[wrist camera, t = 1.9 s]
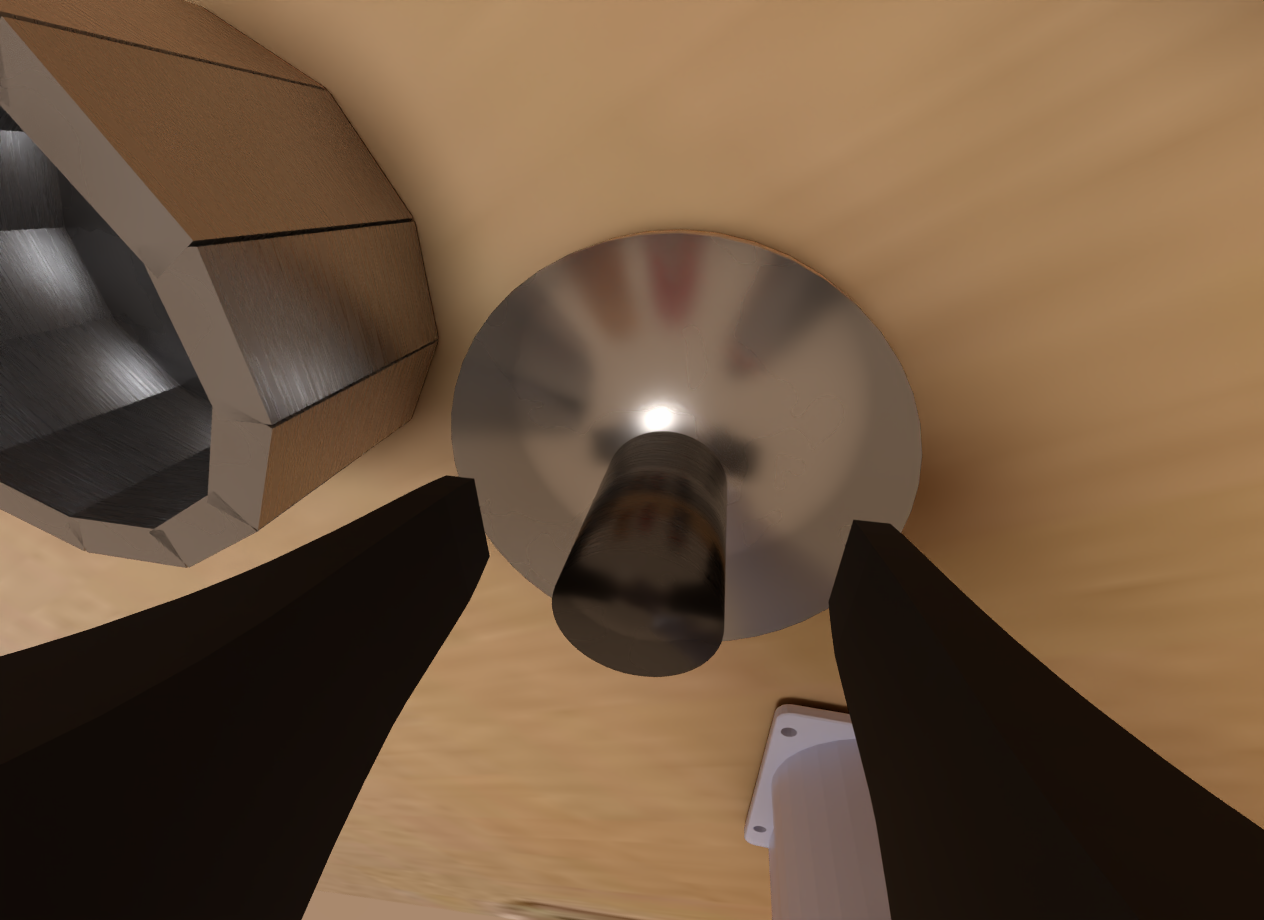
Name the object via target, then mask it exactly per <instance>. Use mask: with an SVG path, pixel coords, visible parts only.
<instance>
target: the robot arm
mask: <svg viewBox="0 0 1264 920" xmlns="http://www.w3.org/2000/svg"><path fill="white" fill-rule="evenodd" d="M489 557H490V556H489V551H488V546H487V541H486V535H485V530H484V525H483V520H482V515H481V510H480V505H479V500H478V495H477V490H476V485H475V480H474V478H465V477H455V476H444V477H442V478H439V479H437V480H434V481H432V482H430V483H428V484H426V485H424V486H422V487H420V488H418V489H415V490H413V491H411V492H409V493H408V494H406V495H404V496H402V497H400V498H398V499H396V500H394V501H392V502H390V503H388V504H386V505H384V506H382V507H380V508H378V509H376V510H374V511H372V512H370V513H368V514H367V515H365V516H363V517H361V518H359V519H357V520H355V521H353V522H351V523H349V524H347V525H345V526H343V527H341V528H339V529H337V530H335V531H333V532H331V533H329V534H327V535H324V536H322V537H320V538H318V539H316V540H314V541H312V542H310V543H308V544H305V545H303V546H301V547H299V548H297V549H295V550H293V551H291V552H289V553H287V554H284V555H282V556H280V557H278V558H276V559H274V560H272V561H269V562H267V563H265V564H262V565H260V566H258V567H256V568H253V569H251V570H248V571H246V572H244V573H241V574H239V575H237V576H234V577H232V578H229V579H227V580H224V581H222V582H219V583H217V584H214V585H212V586H209V587H207V588H204V589H202V590H199V591H197V592H194V593H191V594H189V595H186V596H183V597H181V598H178V599H175V600H172V601H170V602H167V603H164V604H161V605H158V606H155V607H152V608H149V609H147V610H144V611H141V612H138V613H135V614H132V615H129V616H126V617H124V618H121V619H118V620H115V621H112V622H109V623H106V624H103V625H101V626H98V627H95V628H92V629H89V630H86V631H83V632H79V633H76V634H73V635H70V636H67V637H63V638H60V639H57V640H54V641H50V642H47V643H44V644H41V645H38V646H34V647H31V648H28V649H24V650H21V651H17V652H14V653H10V654H7V655H4V656H0V920H301V919H302V917H303V915H304V913H305V910H306V908H307V906H308V903H309V901H310V899H311V897H312V894H313V892H314V890H315V888H316V885H317V883H318V881H319V879H320V876H321V874H322V872H323V869H324V867H325V865H326V863H327V860H328V858H329V856H330V854H331V851H332V849H333V847H334V845H335V842H336V840H337V838H338V836H339V834H340V832H341V830H342V828H343V826H344V824H345V821H346V819H347V817H348V815H349V813H350V811H351V809H352V807H353V805H354V802H355V800H356V798H357V796H358V794H359V792H360V790H361V788H362V786H363V783H364V781H365V779H366V777H367V775H368V774H369V772H370V770H371V768H372V766H373V764H374V762H375V760H376V758H377V756H378V754H379V752H380V750H381V748H382V746H383V744H384V742H385V740H386V738H387V736H388V734H389V732H390V730H391V728H392V726H393V724H394V723H395V721H396V719H397V718H398V716H399V714H400V712H401V711H402V709H403V707H404V705H405V704H406V702H407V700H408V699H409V697H410V696H411V694H412V692H413V691H414V689H415V688H416V686H417V684H418V683H419V681H420V680H421V678H422V676H423V675H424V673H425V672H426V670H427V669H428V667H429V665H430V664H431V662H432V661H433V659H434V657H435V656H436V654H437V653H438V651H439V649H440V648H441V646H442V645H443V643H444V641H445V640H446V638H447V637H448V635H449V634H450V632H451V630H452V629H453V627H454V625H455V624H456V622H457V621H458V619H459V617H460V616H461V614H462V612H463V611H464V609H465V607H466V606H467V604H468V602H469V601H470V599H471V597H472V595H473V592H474V590H475V588H476V586H477V584H478V582H479V580H480V577H481V575H482V573H483V570H484V568H485V566H486V564H487V561H488V559H489ZM828 603H829V612H830V621H831V630H832V638H833V645H834V653H835V658H836V662H837V666H838V670H839V674H840V679H841V683H842V687H843V691H844V695H845V699H846V703H847V707H848V710H849V714H846V713H840V712H835V711H829V710H823V709H817V708H811V707H805V706H799V705H793V704H785V705H781V706H779V707H778V708H777V709H776V711H775V714H774V717H773V721H772V725H771V729H770V733H769V736H768V740H767V744H766V748H765V752H764V755H763V759H762V763H761V767H760V770H759V774H758V778H757V782H756V786H755V789H754V793H753V797H752V801H751V805H750V808H749V812H748V816H747V820H746V823H745V827H744V837H745V839H746V841H747V842H749V843H750V844H753V845H757V846H762V847H766V848H769V866H770V885H771V904H772V920H1264V830H1263V829H1262V828H1261V827H1259V826H1258V825H1256V824H1255V823H1253V822H1252V821H1251V820H1249V819H1248V818H1246V817H1245V816H1243V815H1242V814H1240V813H1239V812H1238V811H1236V810H1235V809H1233V808H1232V807H1230V806H1229V805H1227V804H1226V803H1225V802H1223V801H1222V800H1220V799H1219V798H1217V797H1216V796H1214V795H1213V794H1212V793H1210V792H1209V791H1207V790H1206V789H1205V788H1203V787H1202V786H1200V785H1199V784H1198V783H1196V782H1195V781H1194V780H1192V779H1191V778H1189V777H1188V776H1187V775H1185V774H1184V773H1182V772H1181V771H1180V770H1178V769H1177V768H1176V767H1174V766H1173V765H1171V764H1170V763H1169V762H1167V761H1166V760H1165V759H1163V758H1162V757H1161V756H1159V755H1158V754H1157V753H1155V752H1154V751H1153V750H1151V749H1150V748H1149V747H1147V746H1146V745H1145V744H1143V743H1142V742H1141V741H1140V740H1138V739H1137V738H1136V737H1134V736H1133V735H1132V734H1130V733H1129V732H1128V731H1126V730H1125V729H1124V728H1123V727H1121V726H1120V725H1119V724H1117V723H1116V722H1115V721H1113V720H1112V719H1111V718H1109V717H1108V716H1107V715H1105V714H1104V713H1103V712H1102V711H1100V710H1099V709H1098V708H1096V707H1095V706H1094V705H1093V704H1091V703H1090V702H1089V701H1088V700H1086V699H1085V698H1084V697H1083V696H1081V695H1080V694H1079V693H1078V692H1076V691H1075V690H1074V689H1073V688H1071V687H1070V686H1069V685H1068V684H1066V683H1065V682H1064V681H1063V680H1062V679H1060V678H1059V677H1058V676H1057V675H1056V674H1055V673H1053V672H1052V671H1051V670H1050V669H1049V668H1048V667H1046V666H1045V665H1044V664H1043V663H1042V662H1040V661H1039V660H1038V659H1037V658H1036V657H1035V656H1033V655H1032V654H1031V653H1030V652H1029V651H1027V650H1026V649H1025V648H1024V647H1023V646H1022V645H1020V644H1019V643H1018V642H1017V641H1016V640H1015V639H1014V638H1012V637H1011V636H1010V635H1009V634H1008V633H1007V632H1006V631H1005V630H1003V629H1002V628H1001V627H1000V626H999V625H998V624H997V623H996V622H994V621H993V620H992V619H991V618H990V617H989V616H988V615H987V614H986V613H985V612H984V611H982V610H981V609H980V608H979V607H978V606H977V605H976V604H975V603H974V602H973V601H972V600H971V599H970V598H968V597H967V596H966V595H965V594H964V593H963V592H962V591H961V590H960V589H959V588H958V587H957V586H956V585H955V584H954V583H953V582H951V581H950V580H949V579H948V578H947V577H946V576H945V575H944V574H943V573H942V572H941V571H940V570H939V569H938V568H937V567H936V566H935V565H934V564H933V563H932V562H931V561H930V560H929V559H928V558H927V557H926V556H924V555H923V554H922V553H921V552H920V551H919V550H918V549H917V548H916V547H915V546H914V545H913V544H912V543H911V542H910V541H909V540H908V539H907V538H906V537H905V536H904V535H903V534H901V533H900V532H899V531H898V530H897V529H896V528H895V527H894V526H893V525H891V524H890V523H881V522H872V521H862V520H853V522H852V526H851V529H850V532H849V536H848V539H847V542H846V545H845V549H844V552H843V555H842V559H841V562H840V565H839V569H838V572H837V575H836V578H835V582H834V585H833V588H832V592H831V595H830V598H829V602H828Z"/></svg>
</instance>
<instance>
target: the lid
mask: <svg viewBox="0 0 1264 920" xmlns="http://www.w3.org/2000/svg"><path fill="white" fill-rule="evenodd" d="M451 431H452V445H453V452H454V459H455V465H456V468H457V472H458V475H459V477H465V478H474V480H475V485H476V490H477V495H478V500H479V505H480V510H481V515H482V520H483V525H484V530H485V533H486V534H487V536H488V537H489V539H490V540H491V541H492V543H493V544H494V546H495V547H496V548H497V549H498V550H499V552H500V553H501V554H502V555H503V556H504V557H505V558H506V559H507V561H508V562H509V563H510V564H511V565H512V566H513V567H514V568H515V569H516V570H517V571H518V572H520V573H521V574H522V575H523V576H524V577H525V578H526V579H527V580H528V581H529V582H531V583H532V584H533V585H535V586H536V587H537V588H539V589H540V590H541V591H543V592H544V593H545V594H547V595H548V596H550V597H551V598H552V609H553V614H554V617H555V620H556V623H557V624H558V626H559V628H560V630H561V631H562V633H563V634H564V636H565V637H566V638H567V639H568V640H569V642H570V643H571V644H572V645H573V646H575V647H576V648H577V649H578V650H579V651H580V652H582V653H583V654H584V655H586V656H587V657H589V658H590V659H592V660H594V661H595V662H597V663H600V664H602V665H604V666H606V667H608V668H611V669H614V670H617V671H620V672H623V673H627V674H632V675H638V676H647V677H663V676H672V675H677V674H681V673H685V672H688V671H690V670H693V669H695V668H697V667H699V666H701V665H702V664H704V663H705V662H706V661H708V660H709V659H710V658H711V657H712V656H713V655H714V654H715V652H716V651H717V650H718V648H719V646H720V644H721V642H722V641H730V640H737V639H743V638H749V637H755V636H759V635H763V634H767V633H770V632H774V631H778V630H781V629H784V628H786V627H789V626H792V625H794V624H797V623H800V622H802V621H804V620H806V619H808V618H810V617H812V616H814V615H816V614H818V613H820V612H822V611H824V610H826V609H828V608H829V603H828V602H829V598H830V595H831V592H832V588H833V585H834V582H835V578H836V575H837V572H838V569H839V565H840V562H841V559H842V555H843V552H844V549H845V545H846V542H847V539H848V536H849V532H850V529H851V526H852V522H853V520H862V521H872V522H881V523H890V524H891V525H893V526H894V527H895V528H896V529H897V530H898V531H899V532H900V533H901V532H902V530H903V528H904V525H905V523H906V521H907V519H908V517H909V515H910V513H911V510H912V506H913V503H914V499H915V496H916V492H917V489H918V485H919V479H920V470H921V461H922V443H921V426H920V420H919V416H918V412H917V408H916V403H915V399H914V395H913V392H912V389H911V387H910V385H909V382H908V380H907V377H906V375H905V373H904V370H903V368H902V366H901V363H900V361H899V360H898V358H897V357H896V355H895V353H894V352H893V350H892V349H891V347H890V346H889V344H888V342H887V341H886V339H885V338H884V336H883V335H882V333H881V332H880V331H879V330H878V328H877V327H876V326H875V325H874V324H873V323H872V322H871V321H870V319H869V318H868V317H867V316H866V315H865V314H864V313H863V312H862V310H861V309H860V308H859V307H858V306H857V305H856V304H855V303H854V302H853V301H852V300H851V299H850V298H849V297H848V296H847V295H845V294H844V293H843V292H842V291H841V290H839V289H838V288H837V287H836V286H835V285H833V284H832V283H831V282H830V281H828V280H827V279H826V278H825V277H824V276H822V275H821V274H820V273H818V272H816V271H815V270H813V269H811V268H810V267H808V266H806V265H804V264H803V263H801V262H799V261H798V260H796V259H794V258H793V257H791V256H789V255H787V254H784V253H782V252H779V251H777V250H775V249H772V248H770V247H767V246H765V245H762V244H760V243H757V242H755V241H751V240H746V239H742V238H738V237H734V236H730V235H726V234H722V233H715V232H705V231H694V230H683V229H681V230H662V231H646V232H641V233H636V234H631V235H626V236H621V237H616V238H611V239H609V240H606V241H603V242H600V243H598V244H595V245H592V246H589V247H586V248H584V249H581V250H579V251H576V252H574V253H571V254H569V255H567V256H565V257H563V258H562V259H560V260H558V261H556V262H554V263H552V264H551V265H549V266H547V267H545V268H543V269H541V270H539V271H538V272H537V273H535V274H534V275H533V276H531V277H530V278H529V279H527V280H526V281H525V282H524V283H522V284H521V285H520V286H518V287H517V288H516V289H514V290H513V291H512V292H511V293H510V294H509V295H508V296H507V297H506V298H505V299H504V300H503V301H502V303H501V304H500V305H499V306H498V307H497V308H496V309H495V310H494V311H493V312H492V313H491V314H490V316H489V317H488V319H487V320H486V322H485V323H484V325H483V326H482V327H481V329H480V330H479V332H478V333H477V335H476V336H475V338H474V340H473V342H472V344H471V346H470V348H469V350H468V352H467V354H466V357H465V359H464V361H463V363H462V367H461V370H460V373H459V376H458V380H457V383H456V386H455V392H454V399H453V406H452V413H451Z"/></svg>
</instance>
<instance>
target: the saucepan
mask: <svg viewBox="0 0 1264 920" xmlns="http://www.w3.org/2000/svg"><path fill="white" fill-rule="evenodd" d="M412 218H413V217H412V216H411V214H410V213H409V211H408V210H407V208H406V207H405V205H404V204H403V202H402V201H401V199H400V198H399V196H398V195H397V193H396V192H395V190H394V189H393V187H392V186H391V184H390V183H389V181H388V180H387V178H386V177H385V175H384V174H383V172H382V171H381V169H380V168H379V166H378V165H377V163H376V162H375V160H374V159H373V157H372V156H371V154H370V153H369V151H368V150H367V148H366V147H365V145H364V144H363V142H362V141H361V139H360V138H359V136H358V135H357V133H356V132H355V130H354V129H353V127H352V126H351V124H350V123H349V121H348V120H347V118H346V117H345V115H344V114H343V112H342V111H341V109H340V108H339V106H338V105H337V103H336V102H335V100H334V99H333V97H332V96H331V94H330V93H329V91H326V90H325V87H323V86H322V85H320V84H319V83H317V82H316V81H314V80H313V79H311V78H309V77H308V76H306V75H305V74H303V73H302V72H300V71H299V70H297V69H296V68H294V67H293V66H291V65H290V64H288V63H287V62H285V61H284V60H282V59H281V58H279V57H277V56H276V55H274V54H273V53H271V52H270V51H268V50H267V49H265V48H264V47H262V46H261V45H259V44H258V43H256V42H255V41H253V40H252V39H250V38H249V37H247V36H246V35H244V34H242V33H241V32H239V31H238V30H236V29H235V28H233V27H232V26H230V25H229V24H227V23H226V22H224V21H223V20H221V19H220V18H218V17H217V16H215V15H214V14H212V13H210V12H209V11H207V10H206V9H204V8H203V7H201V6H198V5H195V4H192V3H189V2H186V1H183V0H0V509H1V510H3V511H5V512H7V513H9V514H11V515H13V516H15V517H17V518H19V519H21V520H23V521H25V522H27V523H29V524H31V525H33V526H35V527H37V528H39V529H41V530H43V531H45V532H47V533H49V534H51V535H53V536H55V537H57V538H59V539H61V540H63V541H65V542H67V543H69V544H71V545H73V546H75V547H77V548H79V549H81V550H83V551H85V550H86V551H87V552H89V553H96V554H102V555H108V556H115V557H121V558H127V559H134V560H140V561H147V562H153V563H159V564H166V565H172V566H178V567H185V568H187V567H191V566H193V565H195V564H197V563H199V562H201V561H203V560H204V559H206V558H208V557H210V556H212V555H214V554H216V553H218V552H220V551H221V550H223V549H225V548H227V547H229V546H231V545H233V544H235V543H237V542H238V541H240V540H242V539H244V538H246V537H248V536H250V535H252V534H254V533H255V532H257V531H259V530H260V529H261V528H263V527H264V526H265V525H267V524H268V523H269V522H271V521H272V520H274V519H275V518H276V517H278V516H279V515H280V514H282V513H283V512H285V511H286V510H287V509H289V508H290V507H291V506H293V505H294V504H296V503H297V502H298V501H300V500H301V499H302V498H304V497H305V496H307V495H308V494H309V493H311V492H312V491H313V490H315V489H316V488H318V487H319V486H320V485H322V484H323V483H324V482H326V481H327V480H329V479H330V478H331V477H333V476H334V475H335V474H337V473H338V472H340V471H341V470H342V469H344V468H345V467H346V466H348V465H349V464H351V463H352V462H353V461H355V460H356V459H357V458H359V457H360V456H361V455H363V454H364V453H366V452H367V451H368V450H370V449H371V448H372V447H374V446H375V445H377V444H378V443H379V442H381V441H382V440H383V439H385V438H386V437H388V436H389V435H390V434H392V433H393V432H394V431H396V430H397V429H399V428H400V427H401V426H403V425H404V424H405V423H407V422H408V421H410V419H411V418H412V415H413V413H414V410H415V407H416V404H417V401H418V398H419V395H420V392H421V389H422V386H423V383H424V381H425V378H426V375H427V372H428V369H429V366H430V363H431V360H432V357H433V354H434V351H435V348H436V346H437V343H438V341H437V340H436V339H438V335H437V330H436V325H435V320H434V315H433V310H432V305H431V300H430V295H429V290H428V286H427V281H426V276H425V271H424V266H423V261H422V256H421V251H420V246H419V241H418V236H417V231H416V226H415V222H411V221H410V220H411V219H412Z"/></svg>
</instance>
